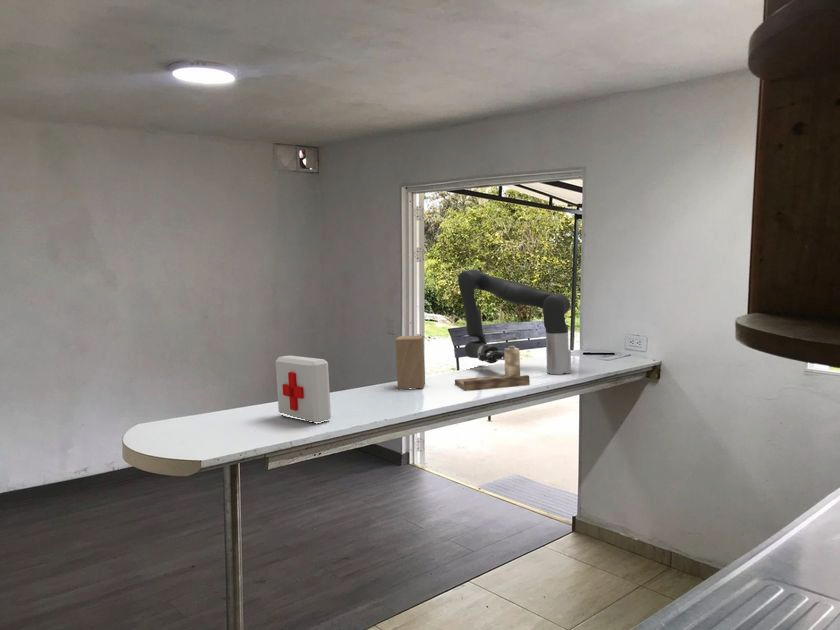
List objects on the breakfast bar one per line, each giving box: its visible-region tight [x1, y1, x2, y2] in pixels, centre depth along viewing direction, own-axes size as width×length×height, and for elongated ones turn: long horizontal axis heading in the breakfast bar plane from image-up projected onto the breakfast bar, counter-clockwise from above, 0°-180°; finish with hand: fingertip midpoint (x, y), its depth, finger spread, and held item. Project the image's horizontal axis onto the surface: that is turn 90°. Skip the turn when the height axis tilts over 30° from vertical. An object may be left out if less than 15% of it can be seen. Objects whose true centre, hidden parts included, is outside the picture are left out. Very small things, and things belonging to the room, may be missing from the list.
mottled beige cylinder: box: [503, 345, 521, 377], centre depth 258 cm, size 4×4×13 cm
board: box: [454, 374, 531, 392], centre depth 259 cm, size 26×14×4 cm, turn 104°
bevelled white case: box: [275, 355, 332, 422], centre depth 214 cm, size 21×8×20 cm, turn 46°
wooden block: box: [395, 335, 426, 390], centre depth 261 cm, size 10×10×20 cm
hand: (501, 358), depth 269 cm, fingers open, 8 cm apart
